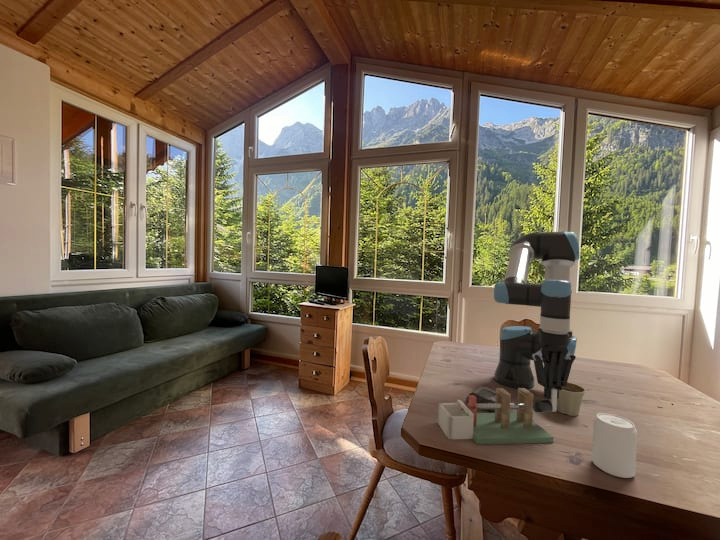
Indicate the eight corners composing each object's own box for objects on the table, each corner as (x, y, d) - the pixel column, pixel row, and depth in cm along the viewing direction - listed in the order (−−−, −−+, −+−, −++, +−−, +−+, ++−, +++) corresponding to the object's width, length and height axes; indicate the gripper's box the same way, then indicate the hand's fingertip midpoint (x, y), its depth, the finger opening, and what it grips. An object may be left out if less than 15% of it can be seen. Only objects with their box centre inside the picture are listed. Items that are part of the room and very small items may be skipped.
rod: (543, 418, 94) (544, 393, 93) (551, 425, 90) (553, 398, 90) (466, 420, 91) (467, 393, 91) (471, 426, 88) (472, 399, 88)
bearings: (522, 420, 93) (524, 387, 93) (532, 428, 89) (533, 394, 89) (494, 420, 93) (496, 388, 92) (502, 428, 88) (504, 394, 88)
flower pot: (574, 421, 97) (575, 394, 96) (544, 408, 105) (546, 383, 105) (590, 415, 101) (591, 389, 101) (560, 403, 109) (561, 379, 109)
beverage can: (583, 458, 78) (585, 412, 78) (612, 457, 79) (615, 411, 78) (612, 481, 70) (614, 429, 70) (644, 480, 71) (647, 428, 70)
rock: (463, 405, 106) (463, 390, 106) (471, 394, 115) (471, 380, 115) (508, 418, 98) (509, 401, 98) (513, 405, 107) (514, 390, 107)
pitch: (522, 416, 99) (522, 412, 98) (553, 442, 85) (553, 437, 85) (456, 417, 97) (456, 413, 97) (477, 444, 83) (477, 438, 83)
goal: (459, 422, 94) (460, 399, 94) (472, 438, 85) (473, 414, 85) (437, 422, 94) (438, 399, 93) (448, 439, 85) (449, 414, 84)
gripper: (564, 328, 96) (561, 403, 96) (525, 328, 94) (522, 403, 95) (584, 334, 88) (580, 415, 89) (542, 334, 87) (538, 415, 87)
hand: (550, 409), depth 92 cm, fingers closed
